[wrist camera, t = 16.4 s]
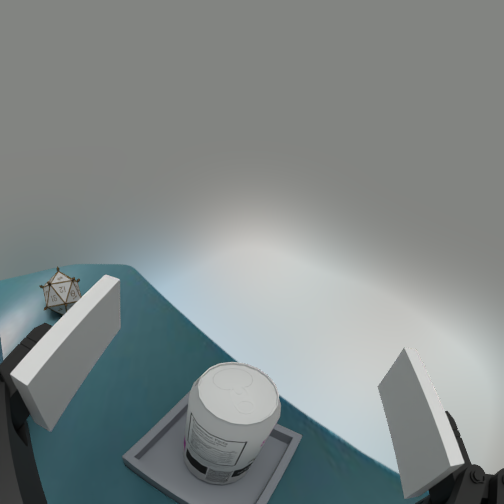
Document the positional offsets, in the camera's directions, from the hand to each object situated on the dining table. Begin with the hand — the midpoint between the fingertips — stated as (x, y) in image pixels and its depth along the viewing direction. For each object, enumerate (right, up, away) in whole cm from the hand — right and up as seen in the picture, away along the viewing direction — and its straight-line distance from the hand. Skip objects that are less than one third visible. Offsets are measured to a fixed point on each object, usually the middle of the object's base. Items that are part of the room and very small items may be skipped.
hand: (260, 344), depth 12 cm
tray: (-5, -22, +18) cm, 29 cm away
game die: (-35, -7, +34) cm, 49 cm away
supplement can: (-5, -21, +17) cm, 28 cm away
